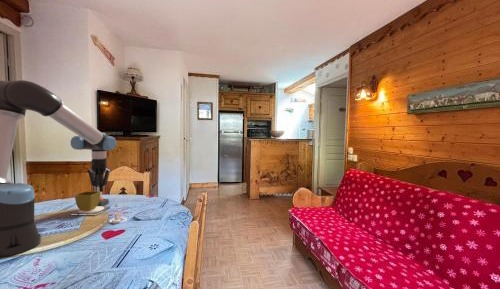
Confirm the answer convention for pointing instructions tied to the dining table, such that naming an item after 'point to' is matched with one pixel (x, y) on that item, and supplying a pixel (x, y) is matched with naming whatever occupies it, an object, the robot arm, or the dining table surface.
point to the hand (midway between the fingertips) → (99, 197)
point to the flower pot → (87, 200)
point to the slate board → (93, 211)
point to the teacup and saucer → (117, 218)
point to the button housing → (103, 202)
